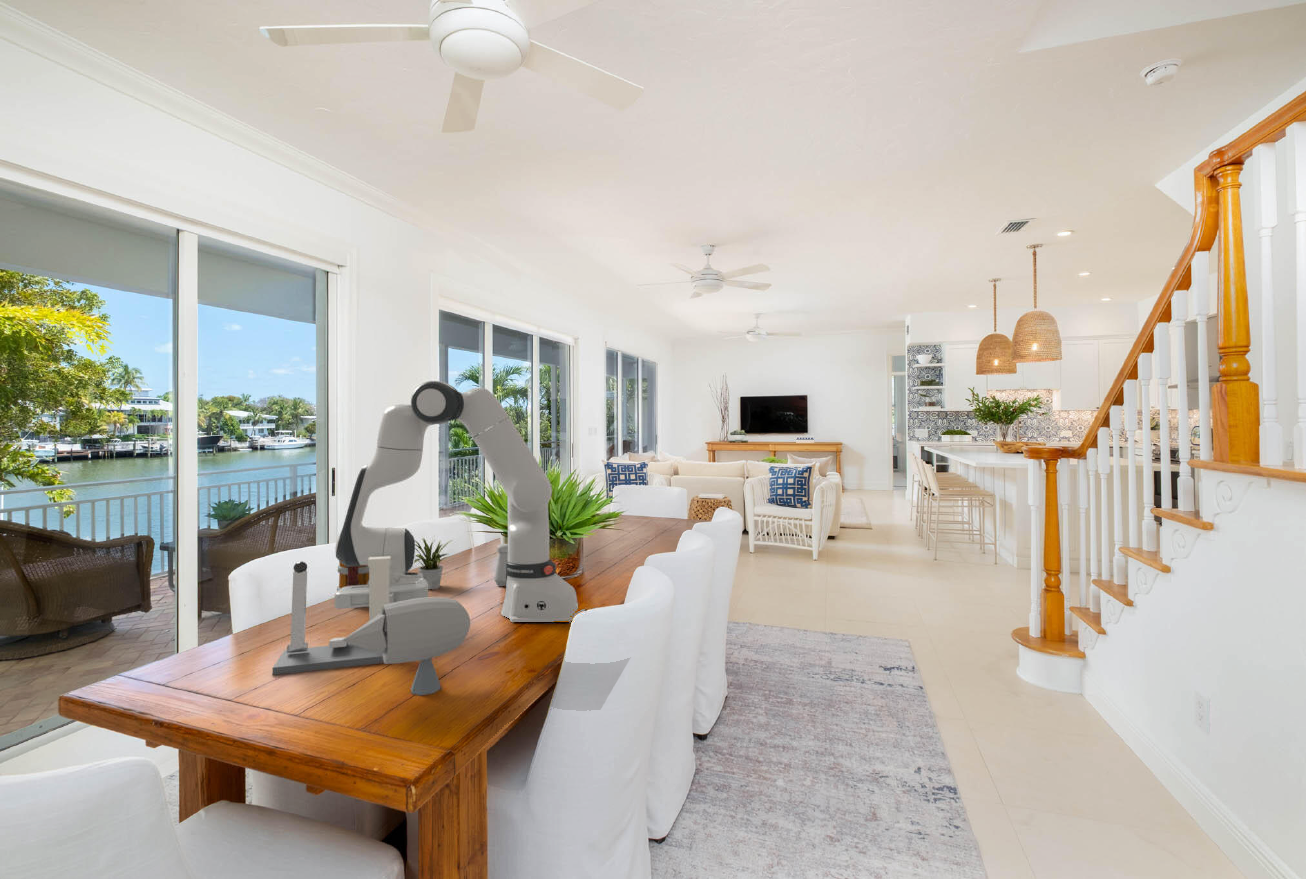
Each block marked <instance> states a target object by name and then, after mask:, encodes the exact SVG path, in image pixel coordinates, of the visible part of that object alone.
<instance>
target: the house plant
mask: <svg viewBox="0 0 1306 879" xmlns="http://www.w3.org/2000/svg"><path fill="white" fill-rule="evenodd" d="M434 538H435V536H433V537H432V540H431V543H430V546H429V545H428V542H427V540H426V539H425V538H424V537H422V538H421V540H422V542H423V544H424V547H423V548H422V546H421V544H420V543H419V542H418V541H417V540H415V539H414V541H415V551H416V552H418V553H419V554H416V555H415V557H417V558H415V557H414V559H415V560H414V561H413V565H414V563H416V562H417V563H418V562H419V563H420V564H421V565H422V566H419V567H418V573H422V574H423V579H425V580H426V581H427V583H428V589H432V590H437V589H439V588H440V587H441V579H442V573H443V568H444V567H443V565H440V563H441V562H442V561H443V560H444V559H447V558H448V556H447V555H448V553H442V554H440V553H441V552H442V550H443V549H444V548H445V547H446V546H447V545H448V544H449V543H451V542H453V540H452V539H451V540H449V541H448V542H445V544H441V539H440V540H439V542H438V544H437V545H436V548H435V550H434V551H433V550H432V549H433V543H434V542H435V541H436V539H437V538H436V539H434ZM433 539H434V540H433ZM416 547H417V548H416ZM418 549H419V550H418ZM432 551H433V552H432ZM421 552H422V553H421ZM442 557H443V558H442ZM441 558H442V559H441ZM420 560H421V561H422V562H423V563H422V562H421V561H420Z"/></svg>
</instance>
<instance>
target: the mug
mask: <svg viewBox="0 0 1306 879" xmlns="http://www.w3.org/2000/svg"><path fill="white" fill-rule="evenodd" d="M338 561H339V560H338ZM338 563H339V564H338V566H337V573H339V575H338V576H339V578H338V586H337V588H336V592H337V591H338V590H340V589H341V588H343V587H346V586H355V585H367V583H368V581H369V567H368V565H362V566H352V567H347V566H345V565H344V564H342V563H341V562H340V561H339V562H338Z"/></svg>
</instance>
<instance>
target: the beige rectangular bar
mask: <svg viewBox="0 0 1306 879" xmlns="http://www.w3.org/2000/svg"><path fill="white" fill-rule="evenodd" d="M390 564H391V556H384V557H369V559H368V567H369V607H368V622H369V621H370V620H371V619H373V618H374V617H376V616H377V615H379V614H381V611H382V606H383V605H386V604H390Z"/></svg>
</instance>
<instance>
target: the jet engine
mask: <svg viewBox="0 0 1306 879" xmlns="http://www.w3.org/2000/svg"><path fill="white" fill-rule="evenodd" d="M470 627H471V618H470V615H469V613H468V611H467V610H466V608H465V607H464V606H463V604H462V603H461V602H459V601H458V600H456V599H452V598H448V597H437V596H430V597H429V596H428V597H424V598H416V599H409V600H404V601H399V602H394V603H390V604H386V605H383V606H382V611H381V614H379V615H377V616H376V617H374V618H373V619H371V620H370V621H369V620H368V621H367V622H366V623H365V624H362V625H361V626H360V627H358V628H357V629H355V631H353V632H352V633H350V634H348V635H347V636H345V637H346V638H344V639H343V640H341V641H344V642H347V643H349V644H353V645H356V646H358V647H361V648H364V649H367V650H370V651H373V652H376V653H379V654H382V655H383V660H384V663H383V664H385V665H386V664H390V665H391V664H402V663H403V664H404V663H411V662H419V661H420V662H419V665H418V667H417V670H416V673H415V676H414V679H413V681H412V685H411V687H410V691H411V693H410V694H411V695H417V696H426V695H432V694H434V693H436V692H438V691H440V690H441V682H440V680H439V678H438V675H437V672H436V668H435V666H434V663H433V660H432V659H433V658H437V657H440V656H442V655H445V654H446V653H449V652H451V651H453V650H455V649H456V648H458V647H459V646H460V645H462V644H463V642H464V640H465V639H466V637H467V635H468V633H469V631H470Z"/></svg>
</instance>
